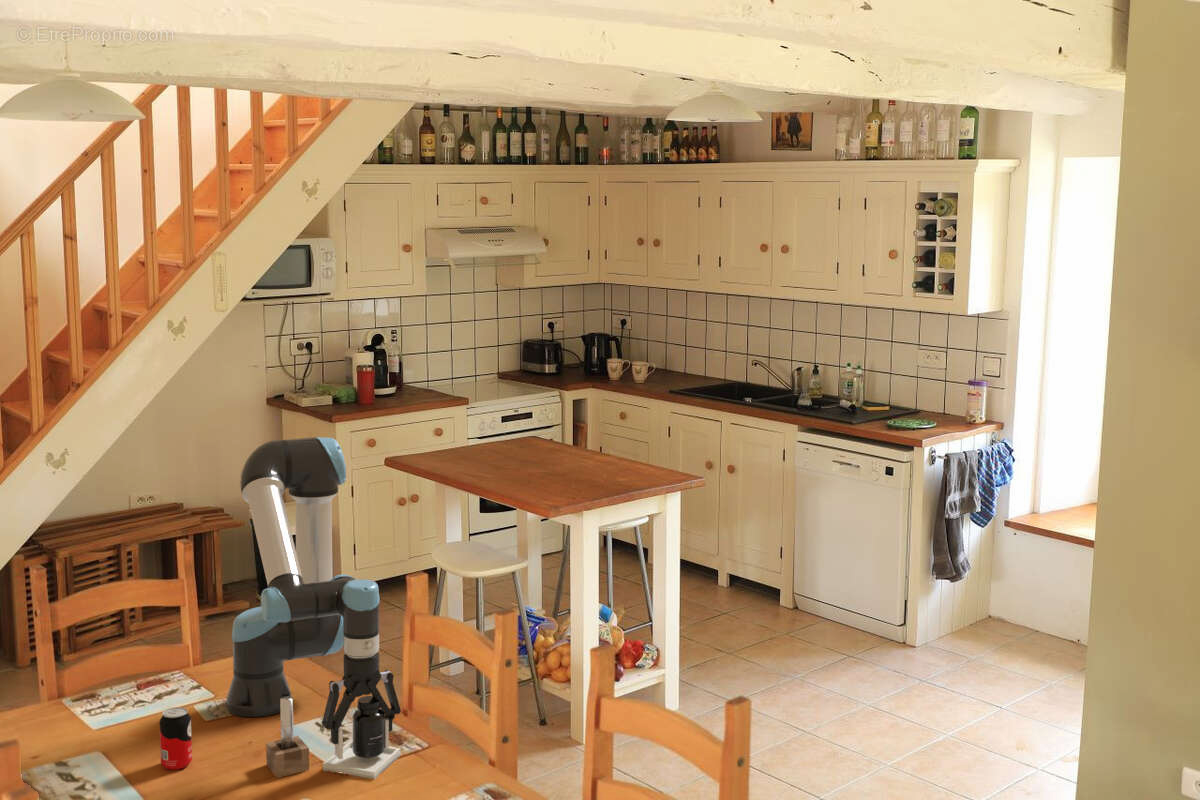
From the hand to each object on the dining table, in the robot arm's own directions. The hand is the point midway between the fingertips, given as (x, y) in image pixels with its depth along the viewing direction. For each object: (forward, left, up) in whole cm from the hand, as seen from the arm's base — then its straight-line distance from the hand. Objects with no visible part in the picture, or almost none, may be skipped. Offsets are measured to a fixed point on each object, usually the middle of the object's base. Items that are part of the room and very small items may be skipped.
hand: (362, 751), depth 258 cm
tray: (0, 0, -3) cm, 3 cm away
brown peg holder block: (-6, -15, -3) cm, 16 cm away
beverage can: (-19, -35, -3) cm, 39 cm away
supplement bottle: (0, +1, -1) cm, 2 cm away
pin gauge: (-6, -15, -1) cm, 16 cm away
